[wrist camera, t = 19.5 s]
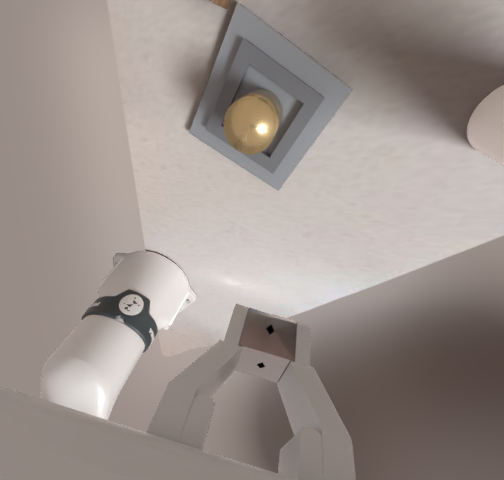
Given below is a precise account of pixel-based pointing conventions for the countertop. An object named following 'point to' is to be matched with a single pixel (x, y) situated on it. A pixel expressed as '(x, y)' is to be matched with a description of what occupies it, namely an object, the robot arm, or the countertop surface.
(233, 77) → the grey square tray
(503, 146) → the cylindrical container
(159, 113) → the countertop surface
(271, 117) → the cylinder
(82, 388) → the robot arm
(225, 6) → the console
